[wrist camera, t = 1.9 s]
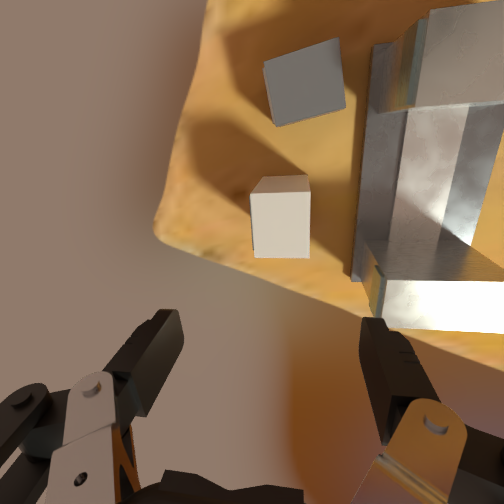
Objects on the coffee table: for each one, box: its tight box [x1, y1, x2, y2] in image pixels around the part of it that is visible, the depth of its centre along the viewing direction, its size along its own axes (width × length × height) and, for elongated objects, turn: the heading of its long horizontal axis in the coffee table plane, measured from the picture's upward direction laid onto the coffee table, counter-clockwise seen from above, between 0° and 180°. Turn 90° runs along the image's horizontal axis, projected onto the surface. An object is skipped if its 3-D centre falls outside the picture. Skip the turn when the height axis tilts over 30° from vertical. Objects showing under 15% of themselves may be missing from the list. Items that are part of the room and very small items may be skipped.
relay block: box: [262, 37, 346, 127], centre depth 25 cm, size 5×6×5 cm
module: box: [249, 175, 311, 258], centre depth 28 cm, size 6×5×9 cm
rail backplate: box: [350, 0, 504, 333], centre depth 24 cm, size 24×12×10 cm, turn 4°
